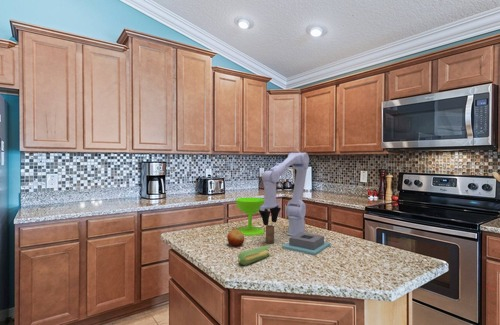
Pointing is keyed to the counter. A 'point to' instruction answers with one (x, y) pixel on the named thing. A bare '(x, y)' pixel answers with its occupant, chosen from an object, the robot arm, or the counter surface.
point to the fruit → (235, 238)
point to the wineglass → (250, 214)
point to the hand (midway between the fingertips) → (270, 223)
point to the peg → (270, 234)
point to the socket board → (313, 252)
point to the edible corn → (253, 255)
